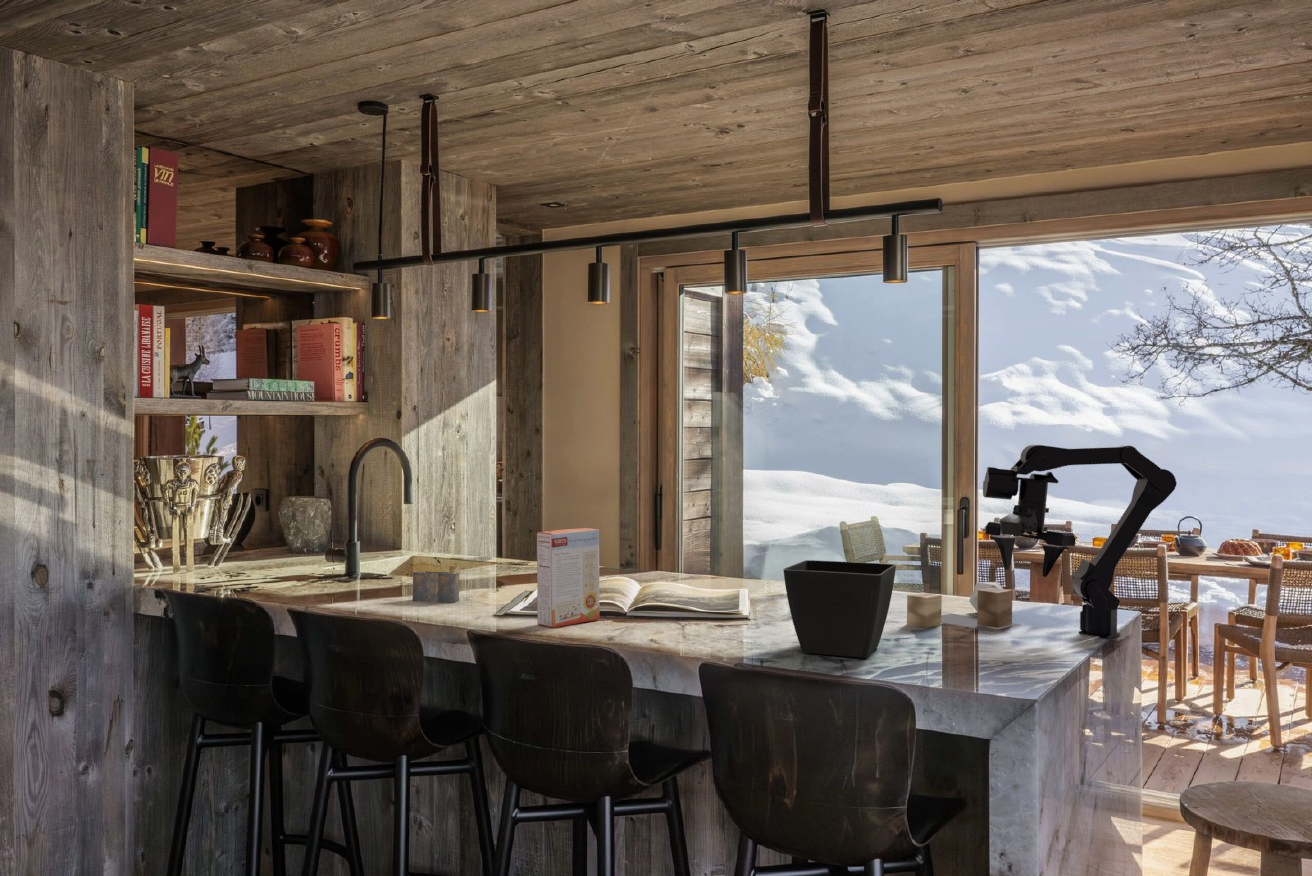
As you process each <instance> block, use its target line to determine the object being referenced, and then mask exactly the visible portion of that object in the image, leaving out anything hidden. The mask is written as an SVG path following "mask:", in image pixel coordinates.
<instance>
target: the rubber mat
mask: <svg viewBox="0 0 1312 876" xmlns="http://www.w3.org/2000/svg"><path fill="white" fill-rule="evenodd" d="M941 624H946V625H950V626H951V625H952V626H957V627H963V628H971V629H976V630H981V631H987V632H997V631H1001V630H1005V629H1010V628H1014V627H1018V626H1021V624H1019V623H1018V624H1017V623H1013V622H1012V626H1010V627H1005V628H1001V629H993V628H987V627H981V626H977V617H974V616H970V615H969V616H968V615H964V614H963V615H961V614H956V613H952V612H951V613H946V614H941Z"/></svg>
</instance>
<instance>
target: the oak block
mask: <svg viewBox="0 0 1312 876" xmlns="http://www.w3.org/2000/svg"><path fill="white" fill-rule="evenodd" d="M906 597H907V598H906V625H907V626H912V627H919V628H924V629H927V628H933V627H937V626H941V625H942V623H941V615H942V613H943V612H942V601H943V600H942V599H943V598H942V597H943V595H942V594H936V593H929V592H928V593H927V592H917V593H912V594H910V593H909V594H907V595H906Z"/></svg>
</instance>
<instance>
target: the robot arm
mask: <svg viewBox="0 0 1312 876" xmlns="http://www.w3.org/2000/svg"><path fill="white" fill-rule="evenodd" d="M1110 464H1111V465H1113V464H1114V465H1115V464H1116V465H1117V464H1120V465H1122V466H1123V467H1124V468H1125V470H1126V471H1127V472H1128V473H1129V474H1130V475H1131V476H1132V477H1133V478H1134V479H1135V480H1136V482H1135V485H1134V488H1133V491H1132V496H1131V501H1130V503H1129V504H1128V506H1127V508H1126V509H1125V511H1124V512H1123V514H1122V516H1121V517H1120V519H1118V521H1117V523H1116V525H1115V526H1114V527H1113V529H1112V531H1111V532H1110V534H1109V536H1108V537H1107V539H1106V540H1105V542H1104V543H1103V545H1102V547H1101V548H1100V550H1099V552H1098V553H1097V554H1096V556H1095V557H1094V558H1092V559H1091V560H1090V561H1089V560H1086V559H1084V558H1083V559H1081V561H1080V563H1079V565H1078V568H1077V570H1076V571H1074V572H1073V573H1072V576H1074V577H1073V579H1072V587H1073V589H1074V591H1075V593H1077V594H1078V595H1079V596H1080V598H1081V600H1082V602H1083V603H1084V604H1082V606H1081V607H1082V608H1081V610H1080V612H1079V631H1078V634H1079V635H1087V636H1092V637H1097V638H1103V639H1110V638H1114V637H1117V636H1120V635H1121V632H1120V631H1119V632H1118V608H1119V605H1120V602H1121V600H1120V599H1119V598H1118V597H1117V596H1116V595H1115V594H1114V593H1112V591H1110V589H1111V585H1112V583H1113V581H1114V580H1113V579H1114V576H1115V570H1116V567H1117V565H1118V564H1119V563H1120V561H1121V559H1122V558H1123V556H1124V554H1125V553H1126V552H1127V550H1128V549H1129V546H1130V545H1131V544H1132V542H1133V540H1134V539H1135V537H1136V536H1137V534H1138V533H1139V532H1140V530H1141V528H1142V526H1143V525H1144V523H1145V522H1146V520H1147V519H1148V518H1149V516H1150V515H1151V513H1152V512H1153V510H1155V509H1156V508H1158V507H1159V506H1160V505H1162V503H1164V502H1165V501H1166V500H1167V498H1169V497H1170V495H1172V493H1173V492H1174V491H1175V490H1176V487H1177V484H1178V483H1177V480H1176V476H1175V475H1174V474H1173V472H1172V471H1170V470H1167V469H1165V468H1161V467H1159V466H1158V465H1157V464H1156V463H1155V462H1153V461H1152V460H1151V459H1149V458H1148V457H1146V456H1145V455H1143V454H1142V453H1141V452H1140V451H1139V450H1138V449H1137V448H1136V447H1135V446H1133V445H1123V444H1122V445H1120V446H1106V447H1105V446H1104V447H1101V446H1100V447H1099V446H1098V447H1097V446H1096V447H1077V448H1075V447H1074V448H1071V447H1070V448H1064V447H1056V446H1051V445H1044V444H1043V445H1042V444H1029V445H1027V446H1025V448H1023V450H1022V451H1021V453H1020V458H1019V459H1018V461H1017V462H1016V463H1015V464H1013V466H1012V467H1011V468H1009V469H1005V468H997V467H994V466H987V467H986V473H985V476H984V480H983V481H982V496H983V498H986V499H987V498H989V499H997V500H998V499H1000V500H1008V501H1010V500H1012V498H1013V497H1016V496H1017V495H1018V502H1017V504H1013V505H1014V506H1013V510H1012V513H1009V514H1007V515H1005V516H1003V517H1002V518H1000V519H999V521H988V522H987V524H986V525H985V529H984V534H985V535H990V536H989V538H990V539H992V540H993V541H994V542H995V543H996V544H997V547H998V549H999V553H1000V555H1001V559H1002V563H1003V566H1004V570H1006V571H1007V570H1009V569H1010V567H1011V564H1012V560H1013V553H1014V548H1015V541H1016V538H1017V537H1022V538H1028V539H1035V540H1041V541H1044V542H1045V543H1046V544H1042V549H1043V551H1044V553H1043V556H1044V557H1043V562H1042V563H1043V564H1042V577H1043V578H1047V577H1048V575H1049V574H1050V572H1051V571H1052V569H1053V567H1054V566H1055V564H1056V562H1057V560H1058V559H1059V557H1061V555H1062V554H1063V553H1064V552H1065V550H1069V549H1070V547H1075V546H1076V539H1077V538H1076V537H1075V534H1074V533H1073V532H1068V531H1062V530H1048V526H1045V518H1046V513H1047V514H1049V512H1050V508H1049V507H1047V497H1048V488H1049V484H1058V483H1059V480H1058V479H1057V478H1056V477H1055V476H1054V474H1053V472H1052V470H1055V469H1058V468H1063V467H1068V466H1082V465H1083V466H1087V465H1088V466H1089V465H1110ZM1050 470H1051V471H1050ZM1045 471H1047V472H1046V473H1045V474H1041V473H1040V474H1039V473H1032V472H1045ZM1029 474H1030V476H1029V477H1020V476H1018V475H1024V476H1027V475H1029ZM1012 536H1013V537H1012Z"/></svg>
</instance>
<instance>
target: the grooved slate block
mask: <svg viewBox="0 0 1312 876" xmlns="http://www.w3.org/2000/svg"><path fill="white" fill-rule="evenodd" d="M459 565H460V564H458V565H456V564H452V563H450V565H449V566H448V567H449V569H448V571H431V570H430V571H429V570H428V571H427V570H425V571H424V572H420V571H419V570H416V571H413V572H412V602H427V603H428V602H429V603H449V604H451V603H452V604H455V603H458V602H459V601H460V572H457V570H458V568H459Z"/></svg>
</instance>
